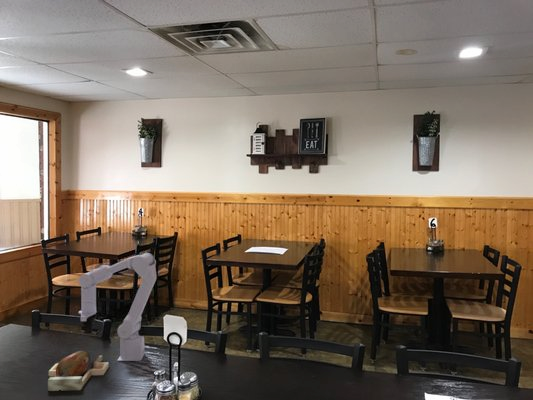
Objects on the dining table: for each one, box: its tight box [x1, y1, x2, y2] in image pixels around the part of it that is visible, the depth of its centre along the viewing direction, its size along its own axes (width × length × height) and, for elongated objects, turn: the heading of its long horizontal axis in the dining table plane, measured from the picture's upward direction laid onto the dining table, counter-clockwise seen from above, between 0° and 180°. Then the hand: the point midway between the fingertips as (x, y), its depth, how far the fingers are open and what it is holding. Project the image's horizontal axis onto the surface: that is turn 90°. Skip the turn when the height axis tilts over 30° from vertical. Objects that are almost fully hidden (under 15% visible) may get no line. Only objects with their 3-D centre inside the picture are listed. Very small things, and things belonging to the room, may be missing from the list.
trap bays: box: [48, 361, 110, 377], centre depth 166 cm, size 20×7×2 cm, turn 94°
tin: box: [55, 350, 91, 377], centre depth 162 cm, size 15×3×8 cm, turn 161°
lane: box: [47, 354, 103, 392], centre depth 164 cm, size 11×26×4 cm, turn 4°
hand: (88, 332), depth 182 cm, fingers closed
